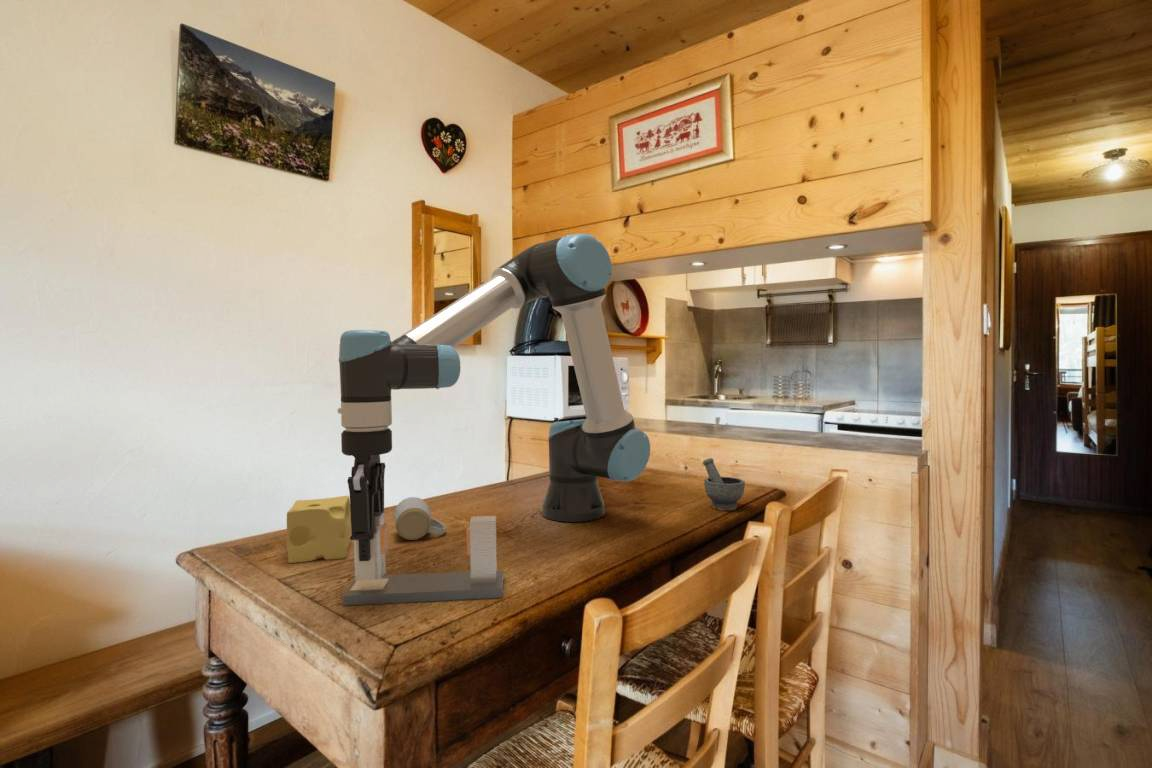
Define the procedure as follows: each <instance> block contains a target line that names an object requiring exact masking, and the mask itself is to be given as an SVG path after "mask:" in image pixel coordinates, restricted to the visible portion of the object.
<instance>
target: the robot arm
mask: <svg viewBox="0 0 1152 768" xmlns="http://www.w3.org/2000/svg"><path fill="white" fill-rule="evenodd" d="M612 266H613V265H612V261H611V257H610V254H609V252H608V250H607V248H606V247H605V245H604V244H603V243H602V242H601V240H598V239H597V238H596V237H595V236H593V235H590V234H587V233H575V234H567V235H564V236H562V237H558V238H554V239H550V240H547V241H543V242H539V243H536V244H533V245H531V246H529V247H527V248H525V249H524V250H522V251H520V252H519V253H518V254H516V255H514V256H513V257H512V258H510V259H509V260H507V261H506V262H505V263H503V264H502V265H500V266H499V267H497V268H495V270H493V272H492V273H491V278H489V279H488V280H486V281H484V282H483V283H481V284H480V285H478V286H477V287H475V288H473V289H472V290H470V291H469V292H467V293H466V294H464V295H463V296H461V297H459V298H458V299H456V300H454V301H453V302H452V303H450V304H448V305H447V306H446V307H444V308H442V309H441V310H439V311H438V312H436V313H435V314H433V315H431V316H430V317H428V318H427V319H425V320H424V321H422V322H421V323H419V324H418V325H416V326H414V327H413V328H411V329H409V330H407V331H406V332H405V333H403V334H402V335H401V336H398V337H397V338H396V339H394V340H391V336H390V333H389V332H388V331H387V330H378V329H373V330H372V329H352V330H345V331H344V332H343V333H341V335H340V338H339V349H338V350H339V351H338V352H339V354H338V363H339V382H340V407H338V408H337V413H338V414H341V417H340V420H341V422H340V425H341V427H343V428H344V430H342V432H341V433H340V435H341V436H340V437H341V453H342V454H343V455H344V456H349V457H350V456H352V457H353V458H354V461H353V466H352V467H351V472H350V473H351V476H348V477H347V486H348V491H349V499H350V511H351V534H350V541H354V540H356V547H357V581H363V580H375V579H376V539H375V537H374V534H373V525H374V512H384V513H385V471H386V470H385V469H386V464H385V462H381V455H384V454H389V453H390V452H391V451H392V450H393V431H392V430H391V428H389V426H391V425H393V411H392V410H393V409H392V390H393V391H394V390H398V391H399V390H419V389H420V390H421V389H423V390H424V389H427V390H428V389H436V390H439V389H443V388H451V387H453V386H454V385H456V383H457V382H458V381H459V379H460V374H461V359H460V355H459V353H458V351H457V349H456V348H455V347H457V346H459V345H460V344H462V343H463V342H464V341H466V340H467V339H469V338H470V337H471V336H473V335H474V334H476V333H477V332H479V331H481V329H483V328H485V327H486V326H487V325H489V324H490V323H491V322H493V321H494V320H496V319H497V318H499V317H500V316H502V315H503V314H504V313H506V312H507V311H509V310H510V309H515V310H517V309H520V308H521V307H523V306H525V305H526V304H528V303H529V302H532V301H535V300H538V299H543V298H549V299H550V304H551V306H552V307H551V308H552V309H553V310H555V311H557V312H558V313H560V315H561V318H562V322H563V326H564V330H565V334H566V338H567V342H568V347H569V352H570V355H571V359H572V364H573V368H574V373H575V376H576V380H577V385H578V387H579V388H578V389H579V392H580V397H581V402H582V405H583V410H584V415H585V418H582V419H572V420H563V421H554V422H552V423H551V424H550V426H549V432H548V433H549V435H548V438H547V440H548V465H549V466H548V467H549V482H548V483H549V484H548V486H547V491H546V492H545V493H546V494H545V497H544V499H543V504H542V516H543V517H544V518H546V519H548V520H552V521H556V522H563V521H564V522H566V523H570V522H571V523H581V522H582V521H583V522H590V521H594V520H593V519H595V520H598V519H601V518H602V516H603V515H604V514H606V513H605V512H606V507H605V502H604V499H603V496H602V492H601V490H600V486H599V484H598V478H603V479H607V480H608V479H609V480H612V481H614V482H631V481H634V480H636V479H638V477H640V476H641V475H642V473H643V472H644V471H645V469H646V467H647V464H648V463H649V461H650V455H651V442H650V438H649V436H648V435H647V433H645V432H644V431H643V430H641V429H639V428H636V424H635V421H634V416H633V414H631V413H630V412H628V411H626V410H625V407H624V402H623V398H622V393H621V388H620V384H619V381H618V376H617V371H616V367H615V362H614V358H613V354H612V348H611V345H610V340H609V335H608V331H607V327H606V323H605V322H606V321H605V318H604V317H605V316H604V313H603V309H602V303H603V301H604V299H605V298H606V296H607V294H606V288H605V287H606V286H607V284H608V283H609V282H610V280H611V276H610V275H612V271H613V268H612ZM604 516H605V515H604ZM604 516H603V517H604ZM600 517H601V518H600ZM597 518H598V519H597ZM384 520H385V516H384ZM589 520H590V521H589ZM564 522H563V523H564Z"/></svg>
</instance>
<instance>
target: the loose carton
mask: <svg viewBox="0 0 1152 768" xmlns="http://www.w3.org/2000/svg"><path fill="white" fill-rule="evenodd" d="M384 517H385V511H384V512H374V525H373V534H374V537H375V539H376V579H375V580H381V579H382V578H383V576H384V575H386V573H387V572H386V553H387V552H388V550H389V524H388V523H385V519H384ZM353 554H354V555H353V556H354V557H353V558H354V559H353V560H354V580H355V581H357V547H356V540H353Z"/></svg>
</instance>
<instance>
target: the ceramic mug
mask: <svg viewBox="0 0 1152 768" xmlns="http://www.w3.org/2000/svg"><path fill="white" fill-rule="evenodd" d="M431 515H432V514H431V509H430V506H429V505H428V503H427V502H426V501H424V500H423V499H422V498H420V497H418V496H417V497H415V496H410V497H407V498H404V499H403V500H401V501H400V502H399V503H397V505H396V507H395V509H394V515H393V516H394V526H395V530H396V532H397V534H398V535H399V536H400V537H401V538H403V539H405V540H406V541H407V540H408V541H417V540H420V539H421V538H423V537H424V536H426V535H427V534H428V533H430V534H432V535H436V536H444V534H445V532H446V530H447V526H446V525H445V524H444V523H442V522H441V521H439V520H437V519H435V518H433V517H431Z"/></svg>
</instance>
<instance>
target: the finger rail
mask: <svg viewBox="0 0 1152 768" xmlns="http://www.w3.org/2000/svg"><path fill="white" fill-rule="evenodd" d="M465 535H466V556H470V571H452V572H450V571H449V572H448V571H447V572H429V573H428V572H427V573H406V574H403V573H402V574H384V576H383V578H382V579H381V580H363V581H355V579H354V580H353V581H352V583H351V584H350V586H349V587H348V589H347V590H346V591H345V593H343V595H342V606H344V607H345V606H362V605H364V606H365V605H382V604H385V605H386V604H404V603H406V604H407V603H421V602H422V603H424V602H441V601H442V602H443V601H447V602H448V601H462V600H463V601H464V600H466V601H468V600H484V599H502V598H503V591H504V590H503V587H504V569H497V568H498V567H497V566H498V565H497V564H498V563H497V561H498V560H497V558H498V557H497V515H486V516H483V515H481V516H471V517H470V520H469V526H467V528H466V534H465Z"/></svg>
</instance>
